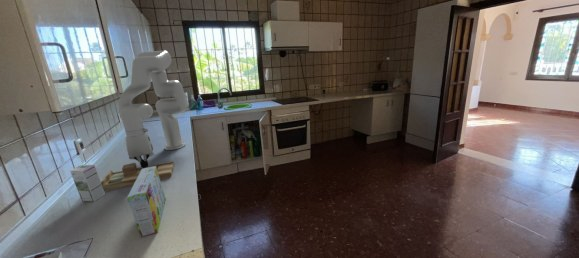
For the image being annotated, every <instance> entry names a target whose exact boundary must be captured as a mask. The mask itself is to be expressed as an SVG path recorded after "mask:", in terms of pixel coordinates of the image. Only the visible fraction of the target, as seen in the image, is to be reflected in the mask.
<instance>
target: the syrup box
mask: <svg viewBox="0 0 579 258" xmlns="http://www.w3.org/2000/svg"><path fill="white" fill-rule="evenodd" d="M69 173H70V175H71V178H72V179H73V181H74V184H75V187H76V190H77V191H78V195H79V197H80V199H81V202H82V203H84V202H90V203H91V202H96V201H97V200H99V199H100V198H102V197H103V196H105V195H106V193H105V191H104V190H103V187H102V184H101V180H100V176H99V174H98V171H97V168H96V166H95V164H81V165H78V166H76V167H74V168H73V169H71V170H70V171H69Z"/></svg>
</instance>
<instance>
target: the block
mask: <svg viewBox="0 0 579 258" xmlns="http://www.w3.org/2000/svg"><path fill="white" fill-rule="evenodd" d="M137 168H138V166H137V164H136V162H132V163H128V164H123V166H122V168H121V171H123V174H124V176H128V175H132V174H136V173H137Z"/></svg>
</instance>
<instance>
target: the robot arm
mask: <svg viewBox="0 0 579 258" xmlns="http://www.w3.org/2000/svg"><path fill="white" fill-rule="evenodd" d="M171 64H172V56H171V54H170V53H169V51H167V50H156V51H155V50H153V51H152V50H151V51H142V52H140V53H138V54H137V55H136V57H135V58H134V59H133V61H132V68H131V82H130V84H128V86H127V87H126V88H125V89H124V91H123V92H122V93H121V95H120V96H119V101H118V114H119V117H120V118H121V121H122V125H123V128H124V132H125V135H126V137H125V146H126V151H127V155H128V158H129V160H135V161H137V162H139V165H140V167H142V168H147V167H148V166H149V161H148V159H149V158H150V157H152V156H154V155H155V152H154V147H153V143H152V141H151V138H150V136H149V134H148V132H149V129H148V128H145V127H144V124H143V120H146V119H147V120H148V119H149V118H151V117H152V116H153V113H154V109H153V107H152V105H150V104H149V103H134V104H133V103H132V101H133V100H134V99H135V98H136V97H137V96H138V95H140V94H142V93H145V92H146V91H148V90H149V89H150V88H151V85H153V86H152V87H153V91H154V93H155V95H156V96H157V97H159V98H162V99H158V100H157V101H156V103H155V105H154V106H155V110H156V112H157V114H158V116H159V120H160V123H161V124H160V125H161V128H162V132H163V136H164V139H165V144H166V145H164V147H163V148H164V150H166V151H173V150H179V149H182V148H183V147H186V142H185V141H183V139H182V134H181V130H180V129H181V128H180V125H179V120H178V118H177V117H176V116H175V114H183V113H185V112H186V111H187V109H188V107H187V101H186V95H185V92H184V91H185V90H184V87H183V84H182V83H181V81H179V80H176V79H172V80H169V79H168V75H167V71H166V69H168V68H169V67H170V66H171ZM151 82H152V83H151ZM166 97H167V98H166ZM169 97H173V98H169ZM163 98H164V99H163ZM142 156H143V157H142Z"/></svg>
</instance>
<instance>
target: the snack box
mask: <svg viewBox="0 0 579 258" xmlns="http://www.w3.org/2000/svg"><path fill="white" fill-rule="evenodd" d="M165 195H166V194H165V192H164V188H163V184H162V182H161V179H160V178H159V174H158V171H157V167H156V166H153V167H148V168H143V169H141V171H140V173H139V175H138V177H137V179H136V181H135V183H134V185H132V187H131V189H130V191H129V193H128V195H127V197H126V199H127V202H128V204H129V207H130V209H131V212H132V216H133V218H134V222H135V225H136V226H137V230H138V233H139V236H140V238H143V237H146V236H149V235H154V234H157V233H158V232H159V228H160V224H161V219H162V215H163V212H164V207H165V203H166V199H167V198H166V196H165Z"/></svg>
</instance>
